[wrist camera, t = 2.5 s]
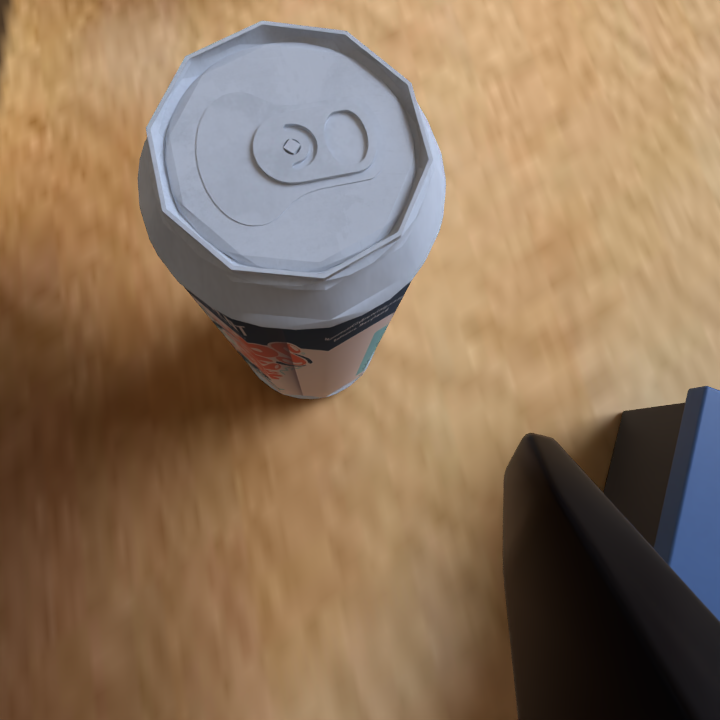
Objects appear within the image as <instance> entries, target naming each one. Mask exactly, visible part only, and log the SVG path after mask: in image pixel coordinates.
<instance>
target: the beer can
mask: <svg viewBox="0 0 720 720" xmlns="http://www.w3.org/2000/svg"><path fill="white" fill-rule="evenodd" d="M146 131H147V136H148V137H147V139H146V141H145V143H144V147H143V150H142V153H141V157H140V162H139V171H138V190H139V204H140V210H141V213H142V216H143V220H144V223H145V226H146V229H147V233H148V236H149V239H150V241H151V243H152V245H153V247H154V249H155V251H156V253H157V254H158V256H159V257H160V259H161V260H162V261H163V263H164V264H165V265H166V266H167V268H168V269H169V271H170V272H171V273H172V275H173V276H174V277H175V278H176V280H177V281H178V282H179V283H180V284H181V285H183V286H184V287H185V289H186V290H187V291H188V292H189V294H190V295H191V296H192V297H193V298H194V300H195V301H196V302H197V303H198V304H199V306H200V307H201V308H202V309H203V310H204V312H205V313H206V314H207V315H208V316H209V318H210V319H211V320H212V321H213V322H214V324H215V325H216V326H217V327H218V328H219V330H220V331H221V332H222V333H223V334H224V336H225V337H226V338H227V339H228V340H229V342H230V343H231V344H232V345H233V346H234V348H235V349H236V350H237V351H238V352H239V354H240V355H241V356H242V357H243V359H244V360H245V361H246V362H247V363H248V365H249V366H250V367H251V369H252V370H253V371H254V372H255V374H256V375H257V376H258V377H259V378H260V379H261V380H262V381H263V382H265V383H266V384H267V385H268V386H270V387H271V388H272V389H274V390H276V391H277V392H279V393H281V394H284V395H287V396H291V397H295V398H302V399H318V398H324V397H328V396H331V395H334V394H337V393H338V392H340V391H342V390H344V389H346V388H347V387H349V386H350V385H351V384H353V383H354V382H355V381H356V380H357V379H358V378H359V377H361V376H362V374H363V373H364V371H365V370H366V369H367V367H368V365H369V363H370V360H371V358H372V356H373V354H374V351H375V349H376V347H377V345H378V343H379V341H380V340H381V338H382V336H383V334H384V332H385V330H386V328H387V326H388V324H389V322H390V321H391V319H392V317H393V315H394V313H395V311H396V309H397V307H398V305H399V303H400V302H401V300H402V298H403V296H404V294H405V292H406V290H407V288H408V286H409V284H410V283H411V281H412V279H413V278H414V276H415V275H416V273H417V272H418V271H419V269H420V268H421V266H422V265H423V264H424V262H425V260H426V258H427V256H428V254H429V252H430V250H431V247H432V245H433V243H434V241H435V239H436V237H437V235H438V233H439V230H440V227H441V223H442V219H443V211H444V202H445V189H446V180H445V173H444V167H443V161H442V155H441V152H440V149H439V147H438V144H437V142H436V140H435V137H434V135H433V132H432V130H431V128H430V125H429V123H428V121H427V119H426V117H425V115H424V114H423V112H422V110H421V108H420V106H419V105H418V103H417V101H416V98H415V94H414V91H413V87H412V84H411V82H409V81H408V80H407V79H406V78H404V77H403V76H402V75H401V74H399V73H398V72H397V71H396V70H394V69H393V68H392V67H391V66H390V65H388V64H387V63H386V62H385V61H383V60H382V59H381V58H380V57H378V56H377V55H376V54H375V53H373V52H372V51H371V50H370V49H368V48H367V47H366V46H365V45H363V44H362V43H361V42H360V41H358V40H357V39H356V38H355V37H353V36H352V35H351V34H350V33H348V32H347V31H342V30H334V29H326V28H318V27H309V26H301V25H293V24H285V23H277V22H269V21H260V22H258V23H256V24H254V25H252V26H249V27H247V28H245V29H243V30H241V31H239V32H237V33H234V34H232V35H230V36H228V37H226V38H224V39H222V40H219V41H217V42H215V43H213V44H211V45H209V46H207V47H204V48H202V49H200V50H198V51H196V52H194V53H192V54H190V55H187V56H185V58H184V60H183V62H182V64H181V65H180V67H179V69H178V71H177V73H176V75H175V76H174V78H173V80H172V82H171V84H170V85H169V87H168V89H167V91H166V93H165V94H164V96H163V98H162V100H161V102H160V104H159V105H158V107H157V109H156V111H155V113H154V114H153V116H152V118H151V120H150V122H149V124H148V125H147V127H146Z"/></svg>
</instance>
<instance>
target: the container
mask: <svg viewBox="0 0 720 720" xmlns="http://www.w3.org/2000/svg"><path fill="white" fill-rule="evenodd" d="M604 494H605V496H606V497H607V498H608V499H609V500H610V501H611V502H612V503H613V504H614V505H615V507H616V508H617V509H618V510H619V511H620V512H621V513H622V514H623V515H624V516H625V518H626V519H627V520H628V521H629V522H630V523H631V524H632V525H633V526H634V527H635V529H636V530H637V531H638V532H639V533H640V534H641V535H642V536H643V537H644V538H645V540H646V541H647V542H648V543H649V544H650V545H651V546H652V547H653V548H654V549H655V551H656V552H657V553H658V554H659V555H660V556H661V557H662V558H663V559H664V561H665V562H666V563H667V564H668V565H669V566H670V567H671V568H672V569H673V570H674V572H675V573H676V574H677V575H678V576H679V577H680V578H681V579H682V580H683V581H684V583H685V584H686V585H687V586H688V587H689V588H690V589H691V590H692V591H693V592H694V594H695V595H696V596H697V597H698V598H699V599H700V600H701V601H702V602H703V603H704V605H705V606H706V607H707V608H708V609H709V610H710V611H711V612H712V613H713V614H714V616H715V617H716V618H717V619H718V620H719V621H720V391H719V390H717V389H714V388H711V387H708V386H703V387H698V388H692V389H689V390H688V393H687V398H686V403H680V404H672V405H665V406H658V407H651V408H643V409H636V410H629V411H624V412H623V414H622V419H621V423H620V427H619V431H618V435H617V439H616V443H615V448H614V452H613V456H612V460H611V464H610V468H609V472H608V477H607V481H606V485H605V489H604Z"/></svg>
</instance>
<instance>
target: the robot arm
mask: <svg viewBox="0 0 720 720" xmlns="http://www.w3.org/2000/svg"><path fill="white" fill-rule="evenodd" d="M503 575H504V587H505V596H506V606H507V616H508V625H509V635H510V644H511V654H512V663H513V673H514V682H515V692H516V701H517V711H518V720H720V621H719V620H718V619H717V618H716V617H715V616H714V614H713V613H712V612H711V611H710V610H709V609H708V608H707V607H706V606H705V605H704V603H703V602H702V601H701V600H700V599H699V598H698V597H697V596H696V595H695V594H694V592H693V591H692V590H691V589H690V588H689V587H688V586H687V585H686V584H685V583H684V581H683V580H682V579H681V578H680V577H679V576H678V575H677V574H676V573H675V572H674V570H673V569H672V568H671V567H670V566H669V565H668V564H667V563H666V562H665V561H664V559H663V558H662V557H661V556H660V555H659V554H658V553H657V552H656V551H655V549H654V548H653V547H652V546H651V545H650V544H649V543H648V542H647V541H646V540H645V538H644V537H643V536H642V535H641V534H640V533H639V532H638V531H637V530H636V529H635V527H634V526H633V525H632V524H631V523H630V522H629V521H628V520H627V519H626V518H625V516H624V515H623V514H622V513H621V512H620V511H619V510H618V509H617V508H616V507H615V505H614V504H613V503H612V502H611V501H610V500H609V499H608V498H607V497H606V496H605V494H604V493H603V492H602V491H601V490H600V489H599V488H598V487H597V486H596V485H595V483H594V482H593V481H592V480H591V479H590V478H589V477H588V476H587V475H586V474H585V472H584V471H583V470H582V469H581V468H580V467H579V466H578V465H577V464H576V463H575V461H574V460H573V459H572V458H571V457H570V456H569V455H568V454H567V453H566V452H565V450H564V449H563V448H562V447H561V446H560V445H559V444H558V443H557V442H556V441H555V440H554V439H553V438H551V437H547V436H543V435H539V434H534V433H528V434H526V435H525V436H524V437H523V438H522V440H521V442H520V444H519V445H518V447H517V449H516V451H515V453H514V455H513V457H512V458H511V460H510V462H509V464H508V466H507V468H506V471H505V475H504V493H503Z"/></svg>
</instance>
